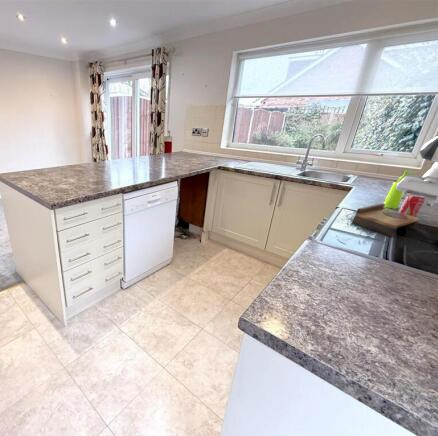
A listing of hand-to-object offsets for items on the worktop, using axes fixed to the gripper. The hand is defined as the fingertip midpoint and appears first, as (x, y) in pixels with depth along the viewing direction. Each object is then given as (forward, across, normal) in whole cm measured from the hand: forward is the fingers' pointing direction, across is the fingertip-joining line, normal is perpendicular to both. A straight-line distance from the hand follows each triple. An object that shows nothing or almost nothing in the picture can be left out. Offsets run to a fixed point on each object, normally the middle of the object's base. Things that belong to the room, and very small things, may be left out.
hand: (415, 201), depth 116 cm
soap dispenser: (-3, -11, +15) cm, 19 cm away
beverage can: (+8, 0, +5) cm, 9 cm away
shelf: (+23, 0, -11) cm, 26 cm away
